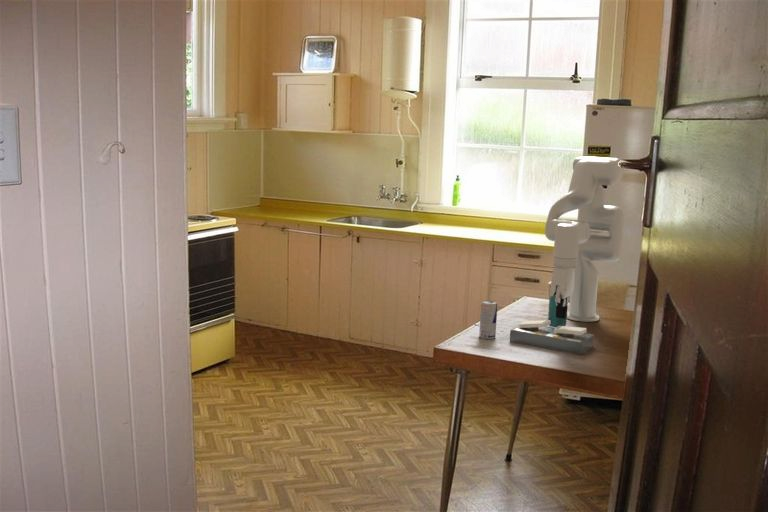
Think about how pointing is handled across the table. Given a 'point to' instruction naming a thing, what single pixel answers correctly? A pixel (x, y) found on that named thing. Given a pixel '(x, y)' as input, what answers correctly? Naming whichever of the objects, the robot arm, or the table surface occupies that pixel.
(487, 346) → the table surface
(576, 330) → the rocker
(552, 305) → the beverage bottle
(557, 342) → the grey rectangular tray
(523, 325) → the rocker
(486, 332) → the energy drink
